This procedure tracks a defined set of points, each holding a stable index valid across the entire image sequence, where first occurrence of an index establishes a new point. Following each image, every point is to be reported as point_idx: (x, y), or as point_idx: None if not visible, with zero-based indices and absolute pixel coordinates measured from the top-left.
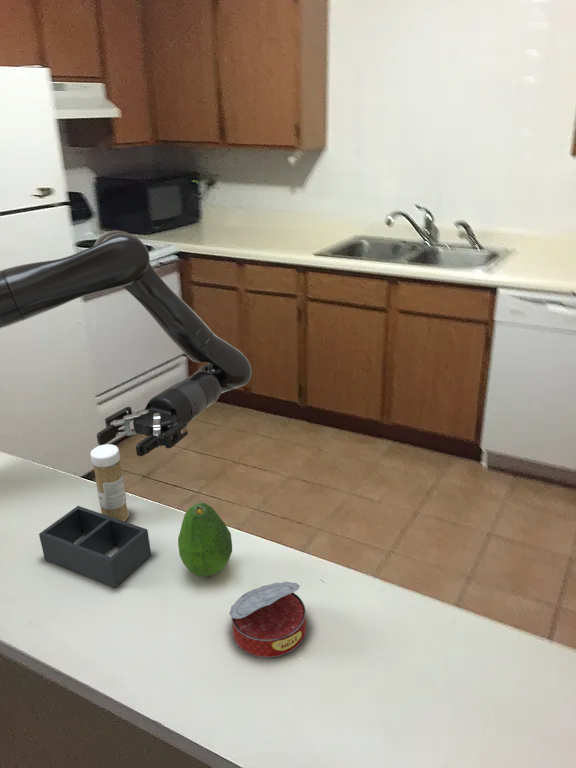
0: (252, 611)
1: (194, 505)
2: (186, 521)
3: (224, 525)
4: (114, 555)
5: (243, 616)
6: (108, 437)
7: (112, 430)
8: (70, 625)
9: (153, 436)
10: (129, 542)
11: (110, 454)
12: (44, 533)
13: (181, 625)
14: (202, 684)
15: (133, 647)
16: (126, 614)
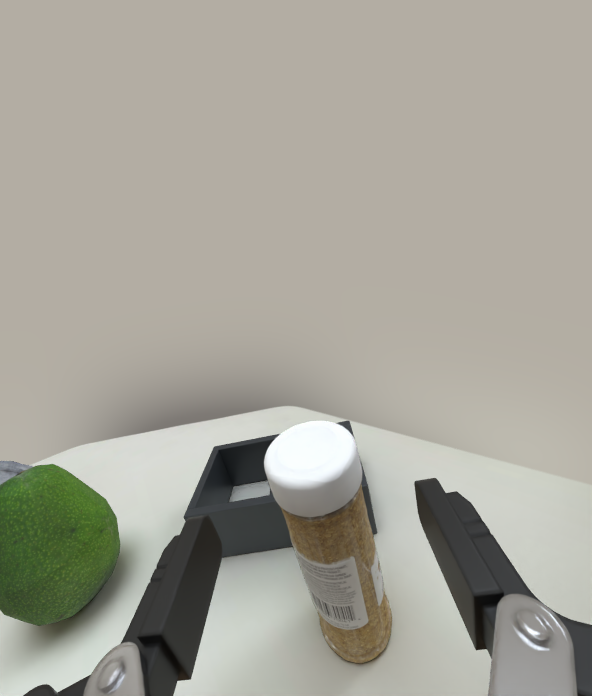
0: (11, 475)
1: (25, 475)
2: (58, 466)
3: None
4: (213, 454)
5: (26, 467)
6: (442, 558)
7: (462, 584)
8: (247, 434)
9: (142, 654)
10: (203, 478)
11: (273, 446)
12: (342, 424)
13: (128, 491)
14: (103, 462)
15: (175, 452)
16: (197, 468)
